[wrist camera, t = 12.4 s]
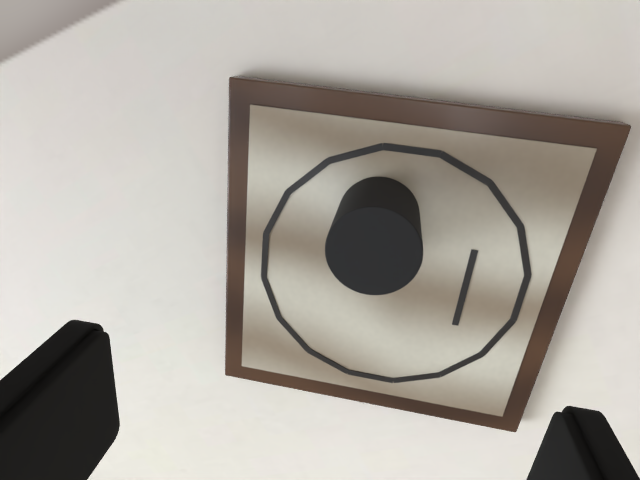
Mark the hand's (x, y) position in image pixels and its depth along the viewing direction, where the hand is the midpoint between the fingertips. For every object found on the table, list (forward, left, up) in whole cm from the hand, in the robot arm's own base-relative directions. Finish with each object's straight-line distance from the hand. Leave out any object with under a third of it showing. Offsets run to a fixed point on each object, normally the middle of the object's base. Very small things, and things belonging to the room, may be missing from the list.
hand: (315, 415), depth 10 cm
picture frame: (+3, +2, -13) cm, 13 cm away
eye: (0, +1, -12) cm, 12 cm away
